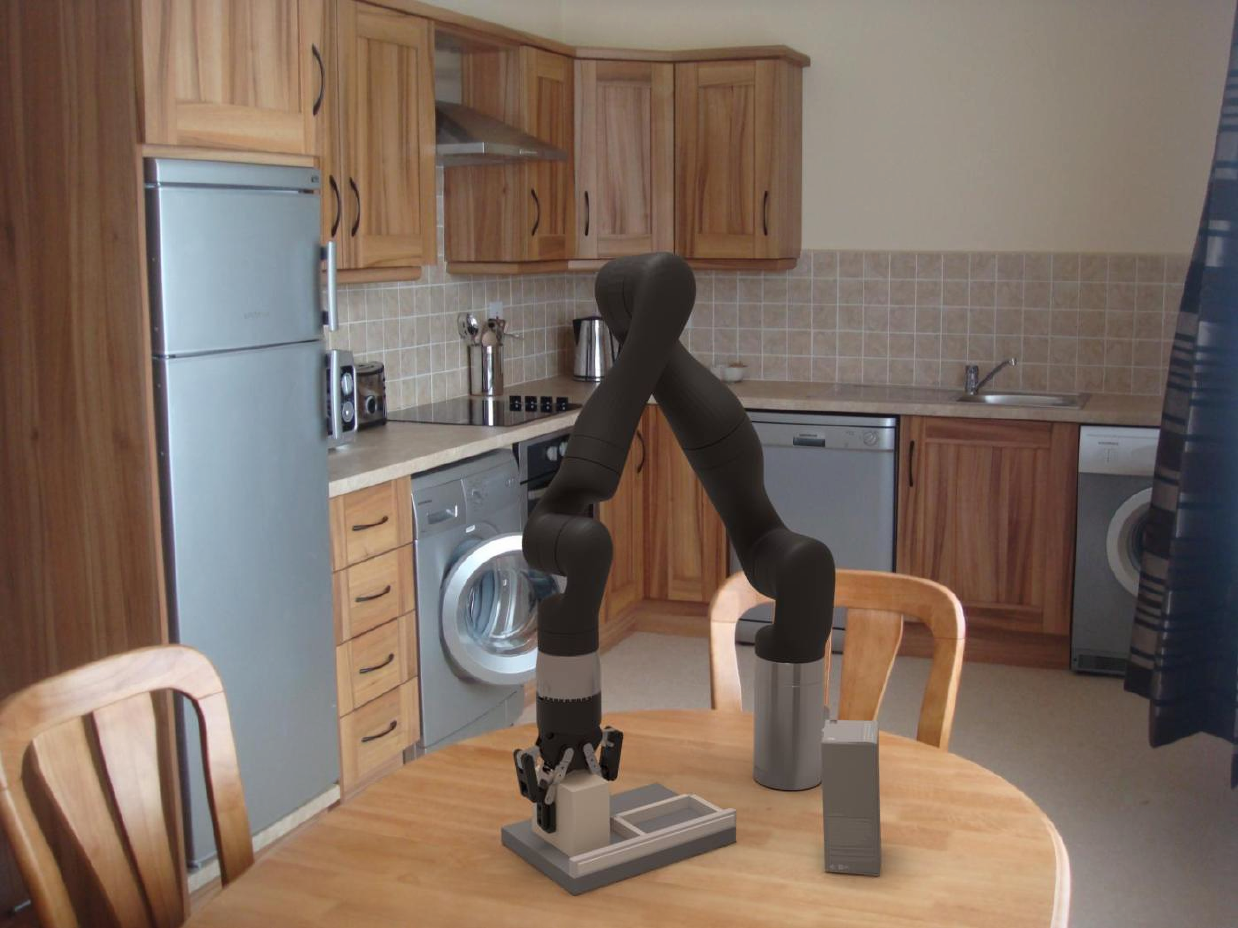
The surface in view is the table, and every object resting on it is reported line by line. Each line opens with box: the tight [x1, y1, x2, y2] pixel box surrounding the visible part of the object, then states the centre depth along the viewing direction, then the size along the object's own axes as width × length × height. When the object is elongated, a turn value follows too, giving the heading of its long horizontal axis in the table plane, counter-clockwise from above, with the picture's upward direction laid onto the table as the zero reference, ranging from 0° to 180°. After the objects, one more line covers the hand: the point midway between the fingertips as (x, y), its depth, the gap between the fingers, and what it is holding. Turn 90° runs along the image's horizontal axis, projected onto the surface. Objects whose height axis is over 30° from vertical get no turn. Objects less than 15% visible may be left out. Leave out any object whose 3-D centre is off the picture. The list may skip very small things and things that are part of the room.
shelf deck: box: [500, 781, 737, 897], centre depth 162 cm, size 23×16×4 cm
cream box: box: [531, 763, 611, 858], centre depth 158 cm, size 9×5×8 cm, turn 35°
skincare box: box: [821, 719, 882, 877], centre depth 157 cm, size 8×7×16 cm
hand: (570, 823), depth 159 cm, fingers open, 5 cm apart
